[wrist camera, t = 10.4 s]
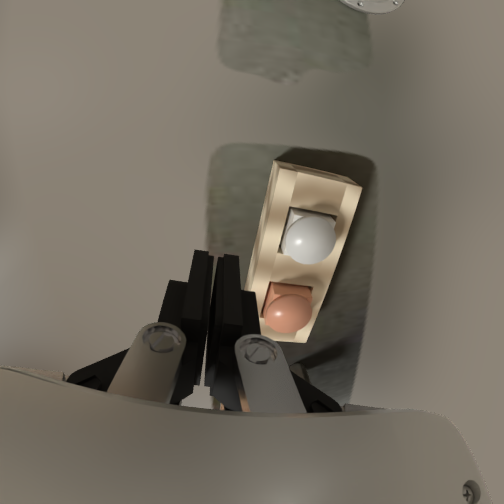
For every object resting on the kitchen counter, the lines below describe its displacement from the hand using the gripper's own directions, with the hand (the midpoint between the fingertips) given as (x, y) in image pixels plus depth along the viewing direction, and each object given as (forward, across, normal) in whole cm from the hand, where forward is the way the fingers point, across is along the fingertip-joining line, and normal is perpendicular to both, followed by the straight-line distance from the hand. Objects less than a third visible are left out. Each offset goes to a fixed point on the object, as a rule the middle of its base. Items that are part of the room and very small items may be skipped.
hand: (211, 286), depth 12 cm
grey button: (+26, -11, +6) cm, 29 cm away
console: (+27, -11, +11) cm, 31 cm away
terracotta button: (+25, -11, +16) cm, 32 cm away
